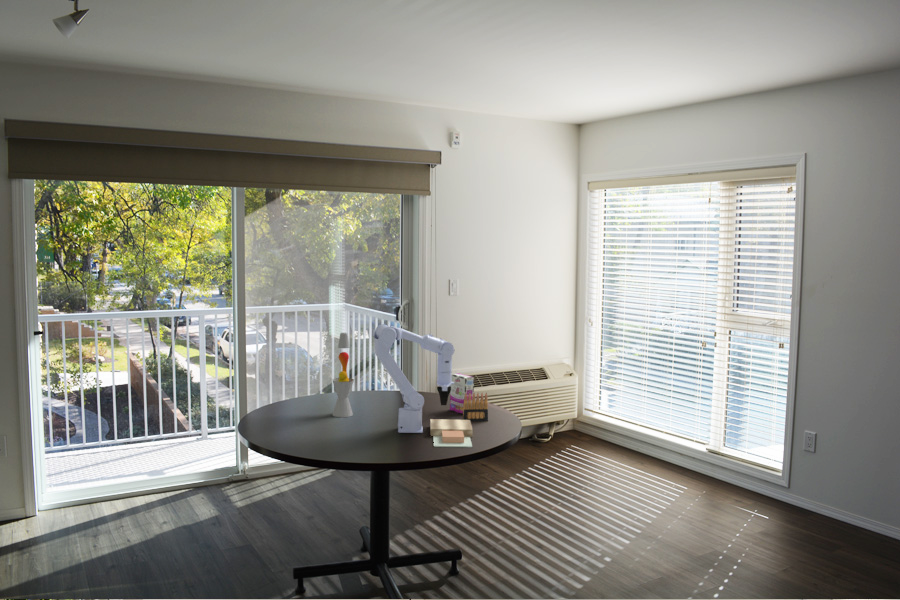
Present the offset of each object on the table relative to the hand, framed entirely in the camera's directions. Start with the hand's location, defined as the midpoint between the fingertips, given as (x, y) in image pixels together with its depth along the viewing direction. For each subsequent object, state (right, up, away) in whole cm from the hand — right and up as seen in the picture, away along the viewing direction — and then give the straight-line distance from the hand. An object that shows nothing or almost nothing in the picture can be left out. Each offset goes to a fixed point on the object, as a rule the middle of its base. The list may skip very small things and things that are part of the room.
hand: (443, 404), depth 256 cm
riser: (+3, -10, -4) cm, 11 cm away
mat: (+3, -11, -18) cm, 21 cm away
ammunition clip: (+13, -9, +13) cm, 21 cm away
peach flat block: (+4, -10, -16) cm, 19 cm away
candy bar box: (+7, -8, +27) cm, 29 cm away
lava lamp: (-43, -7, +17) cm, 47 cm away
